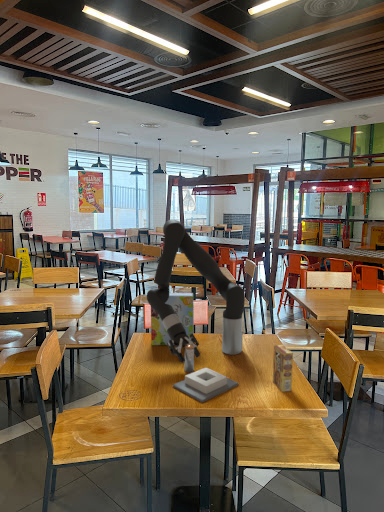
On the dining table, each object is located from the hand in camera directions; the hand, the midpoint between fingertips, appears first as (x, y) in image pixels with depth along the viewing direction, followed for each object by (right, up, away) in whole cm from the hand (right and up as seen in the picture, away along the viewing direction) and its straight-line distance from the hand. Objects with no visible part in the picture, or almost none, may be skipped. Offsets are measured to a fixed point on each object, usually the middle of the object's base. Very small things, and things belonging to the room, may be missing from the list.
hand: (191, 359), depth 157 cm
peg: (-1, -5, +2) cm, 5 cm away
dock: (+6, -7, -13) cm, 16 cm away
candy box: (+35, -7, -12) cm, 38 cm away
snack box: (-10, -1, +34) cm, 36 cm away
